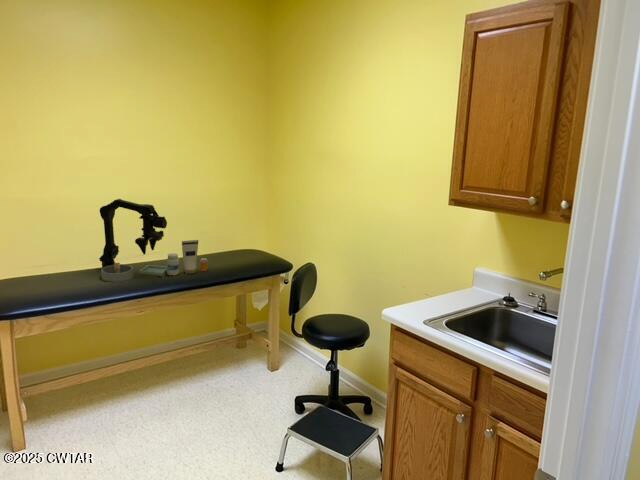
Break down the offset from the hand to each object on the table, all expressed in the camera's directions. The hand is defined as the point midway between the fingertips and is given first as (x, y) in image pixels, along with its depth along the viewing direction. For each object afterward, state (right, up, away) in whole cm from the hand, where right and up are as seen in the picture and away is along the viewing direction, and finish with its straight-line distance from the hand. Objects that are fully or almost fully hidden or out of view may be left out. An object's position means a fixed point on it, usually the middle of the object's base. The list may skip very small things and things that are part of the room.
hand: (148, 252), depth 266 cm
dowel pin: (-16, -14, -6) cm, 22 cm away
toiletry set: (+20, -13, +12) cm, 26 cm away
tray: (+1, -13, +7) cm, 15 cm away
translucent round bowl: (-16, -15, -6) cm, 22 cm away
